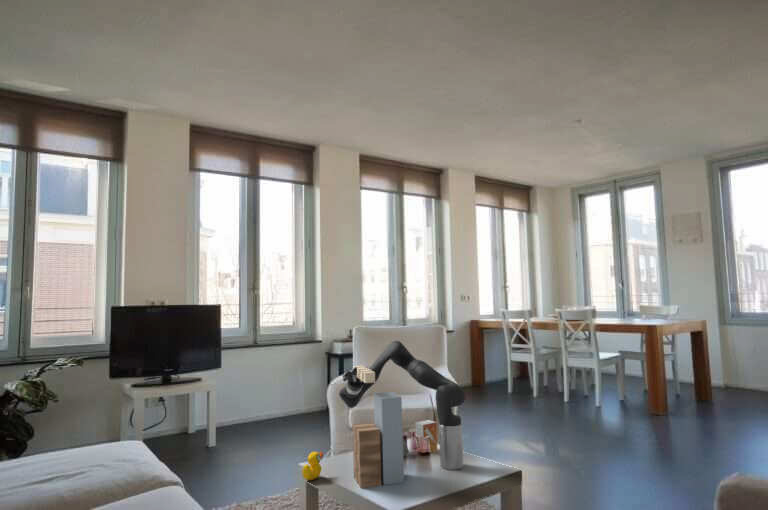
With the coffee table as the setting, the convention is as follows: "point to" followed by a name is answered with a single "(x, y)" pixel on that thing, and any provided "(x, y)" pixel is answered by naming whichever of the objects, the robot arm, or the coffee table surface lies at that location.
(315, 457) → the duckling
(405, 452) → the mineral specimen
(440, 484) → the coffee table surface
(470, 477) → the coffee table surface
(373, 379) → the beam
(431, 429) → the small box
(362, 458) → the brown wooden block
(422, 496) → the coffee table surface
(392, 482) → the tall tower
